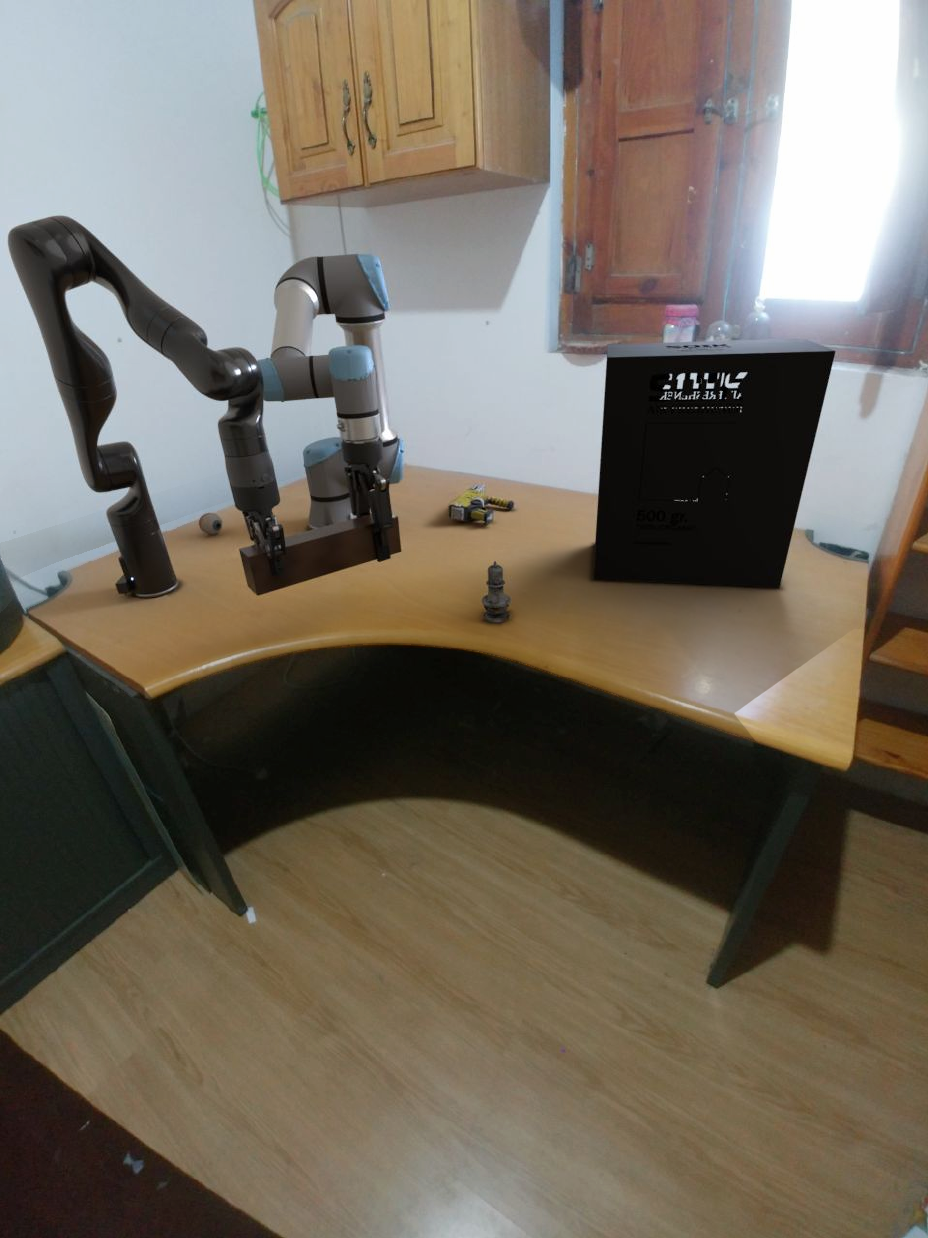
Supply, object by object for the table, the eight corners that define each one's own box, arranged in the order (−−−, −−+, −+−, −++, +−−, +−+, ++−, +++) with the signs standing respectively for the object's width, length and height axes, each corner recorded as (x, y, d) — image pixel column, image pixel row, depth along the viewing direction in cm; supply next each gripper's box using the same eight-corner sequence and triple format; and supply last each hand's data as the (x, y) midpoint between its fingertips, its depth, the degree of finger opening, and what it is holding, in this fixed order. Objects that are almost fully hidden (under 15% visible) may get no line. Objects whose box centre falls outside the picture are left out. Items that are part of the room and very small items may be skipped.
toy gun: (522, 488, 179) (474, 481, 183) (499, 513, 159) (446, 504, 163) (520, 503, 181) (473, 496, 185) (498, 529, 161) (446, 520, 165)
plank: (257, 596, 107) (248, 557, 103) (247, 586, 111) (238, 548, 107) (401, 551, 122) (398, 516, 118) (389, 544, 126) (385, 510, 122)
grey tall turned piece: (509, 624, 117) (508, 568, 111) (479, 622, 118) (477, 567, 112) (513, 609, 122) (512, 555, 116) (484, 607, 123) (482, 554, 117)
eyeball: (212, 539, 164) (206, 518, 161) (197, 535, 167) (191, 515, 164) (230, 531, 169) (224, 511, 166) (215, 528, 172) (210, 508, 169)
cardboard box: (759, 548, 141) (803, 338, 119) (779, 587, 124) (835, 350, 102) (595, 543, 149) (607, 344, 126) (593, 579, 132) (607, 357, 109)
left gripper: (217, 474, 104) (240, 563, 113) (244, 493, 94) (267, 589, 103) (259, 465, 108) (278, 552, 117) (290, 482, 98) (308, 576, 106)
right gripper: (321, 434, 115) (340, 547, 126) (366, 451, 102) (382, 575, 114) (356, 427, 119) (371, 537, 130) (404, 443, 106) (416, 563, 117)
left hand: (273, 569), depth 110 cm, fingers closed on plank, 5 cm apart
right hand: (376, 555), depth 122 cm, fingers closed on plank, 5 cm apart
